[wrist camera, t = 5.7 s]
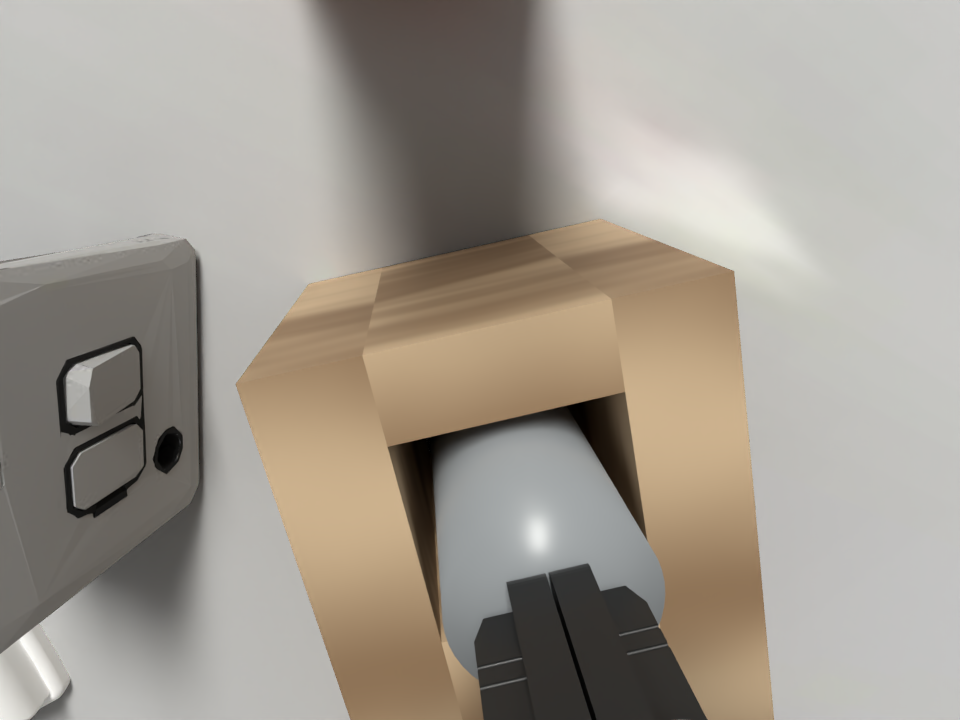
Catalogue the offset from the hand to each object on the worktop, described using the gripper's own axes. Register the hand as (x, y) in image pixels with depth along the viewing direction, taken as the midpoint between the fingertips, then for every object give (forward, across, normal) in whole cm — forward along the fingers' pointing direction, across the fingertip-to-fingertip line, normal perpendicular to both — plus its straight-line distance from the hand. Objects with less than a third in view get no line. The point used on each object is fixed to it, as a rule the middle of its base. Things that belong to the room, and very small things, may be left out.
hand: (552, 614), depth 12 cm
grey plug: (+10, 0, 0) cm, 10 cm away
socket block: (+13, 0, +8) cm, 15 cm away
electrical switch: (+13, +12, -3) cm, 18 cm away
